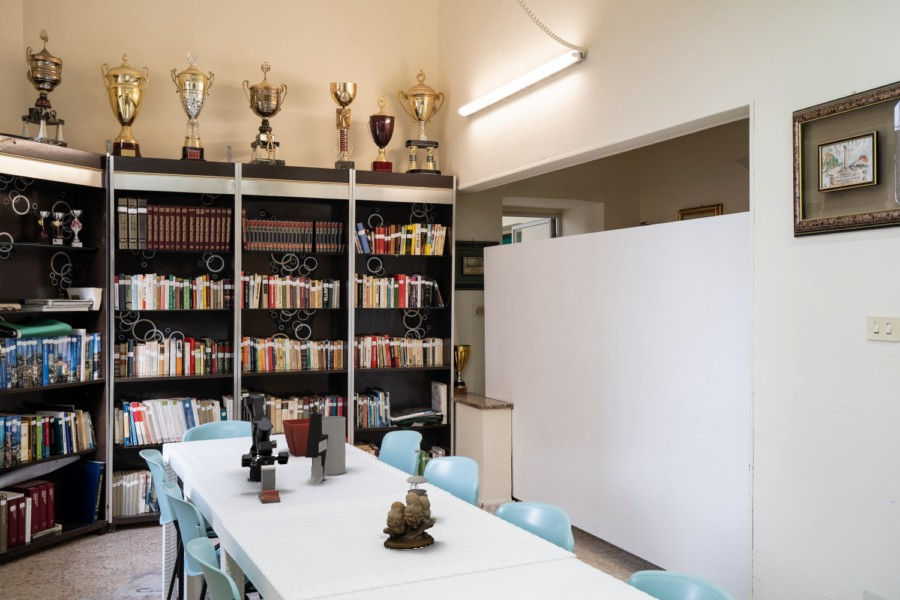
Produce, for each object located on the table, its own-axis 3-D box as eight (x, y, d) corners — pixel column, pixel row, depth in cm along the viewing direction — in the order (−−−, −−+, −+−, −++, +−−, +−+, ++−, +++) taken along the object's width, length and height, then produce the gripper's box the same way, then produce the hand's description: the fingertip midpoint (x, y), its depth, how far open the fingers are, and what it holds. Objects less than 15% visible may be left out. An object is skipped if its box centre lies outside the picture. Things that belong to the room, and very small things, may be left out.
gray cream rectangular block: (261, 492, 321) (261, 465, 321) (274, 491, 323) (274, 464, 323) (262, 495, 317) (262, 467, 317) (275, 494, 319) (275, 467, 319)
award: (316, 486, 340) (316, 415, 340) (304, 485, 341) (304, 415, 341) (328, 478, 354) (328, 410, 354) (317, 477, 355) (317, 410, 355)
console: (258, 496, 321) (258, 485, 321) (276, 495, 324) (276, 484, 324) (262, 503, 311) (262, 491, 311) (280, 501, 313) (280, 490, 313)
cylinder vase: (348, 470, 372) (348, 416, 372) (341, 476, 359) (341, 420, 359) (321, 469, 373) (321, 415, 373) (314, 475, 361) (314, 420, 360)
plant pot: (281, 451, 416) (281, 419, 416) (317, 449, 424) (317, 417, 424) (290, 458, 398) (290, 424, 398) (327, 455, 406) (327, 422, 406)
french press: (406, 522, 285) (406, 452, 285) (400, 513, 296) (400, 446, 296) (433, 520, 288) (433, 450, 288) (425, 512, 299) (425, 445, 299)
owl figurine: (428, 535, 269) (428, 485, 269) (443, 545, 259) (443, 493, 259) (377, 542, 262) (378, 490, 261) (391, 553, 251) (391, 498, 251)
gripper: (241, 434, 325) (244, 467, 314) (288, 432, 331) (292, 463, 321) (239, 450, 332) (242, 482, 322) (285, 447, 339) (289, 479, 328)
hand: (267, 476), depth 323 cm, fingers closed
